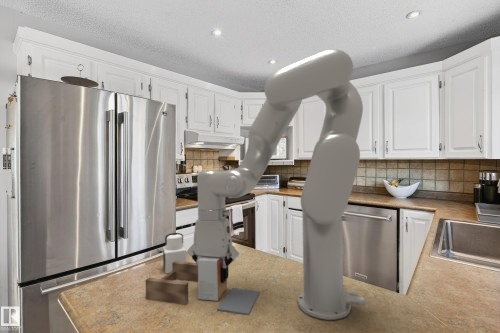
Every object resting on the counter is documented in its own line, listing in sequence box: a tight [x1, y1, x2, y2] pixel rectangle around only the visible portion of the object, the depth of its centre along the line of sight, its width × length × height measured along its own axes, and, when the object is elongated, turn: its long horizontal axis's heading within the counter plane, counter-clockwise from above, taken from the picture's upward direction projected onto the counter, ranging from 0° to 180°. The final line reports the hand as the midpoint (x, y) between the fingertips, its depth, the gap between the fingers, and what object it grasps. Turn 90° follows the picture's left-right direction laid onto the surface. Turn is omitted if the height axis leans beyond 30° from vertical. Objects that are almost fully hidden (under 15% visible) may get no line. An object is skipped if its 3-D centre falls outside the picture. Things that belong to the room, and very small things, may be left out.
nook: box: [145, 261, 198, 305], centre depth 72 cm, size 12×14×5 cm
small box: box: [197, 256, 228, 302], centre depth 69 cm, size 8×6×10 cm
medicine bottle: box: [162, 232, 187, 275], centre depth 87 cm, size 7×7×12 cm
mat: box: [216, 287, 261, 316], centre depth 65 cm, size 8×11×1 cm
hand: (213, 279), depth 69 cm, fingers closed on small box, 5 cm apart
